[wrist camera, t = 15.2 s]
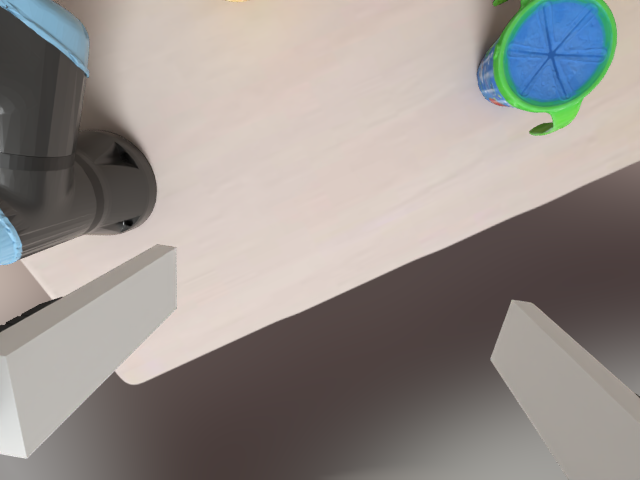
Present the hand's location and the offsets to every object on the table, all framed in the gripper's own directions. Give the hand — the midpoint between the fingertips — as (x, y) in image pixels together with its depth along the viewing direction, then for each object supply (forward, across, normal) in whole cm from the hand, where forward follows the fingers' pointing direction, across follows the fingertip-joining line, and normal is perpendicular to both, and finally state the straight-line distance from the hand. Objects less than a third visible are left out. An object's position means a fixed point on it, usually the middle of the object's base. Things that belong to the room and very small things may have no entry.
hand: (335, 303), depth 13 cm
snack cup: (+35, +18, +16) cm, 43 cm away
